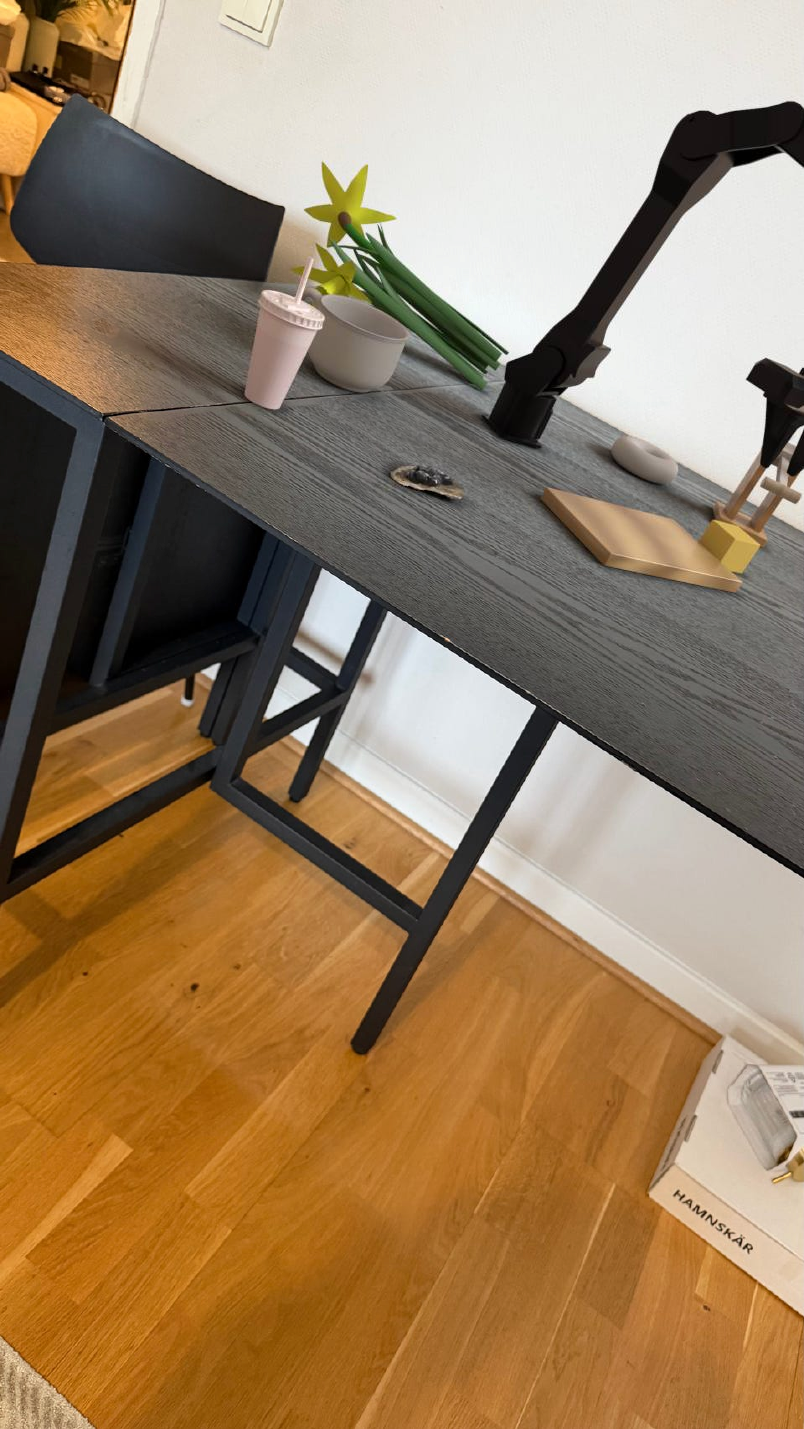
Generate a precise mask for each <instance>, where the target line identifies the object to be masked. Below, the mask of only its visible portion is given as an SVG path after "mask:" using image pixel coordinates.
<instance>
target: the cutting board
mask: <svg viewBox="0 0 804 1429" xmlns="http://www.w3.org/2000/svg"><path fill="white" fill-rule="evenodd" d="M540 500H541V501H542V502H543V503H544V504H545V505H546V507H548V508H549V509H550V511H551V512H552V513H553V514H554V515H555V516H556V517H557V518H558V519H559V520H560V522H562V523H563V524H564V526H566V528H567V529H569V530H570V532H571V533H572V534H573V535H574V536H575V537H576V538H577V539H578V540H579V541H580V542H581V543H582V544H583V545H584V546H585V548H586V549H588V551H589V552H590V553H591V554H592V555H593V556H594V557H595V558H596V559H597V560H598V562H600V563H601V565H602V566H603V567H604V566H605V567H608V568H615V569H619V570H624V571H628V572H634V573H638V574H643V575H647V576H651V577H656V578H657V577H658V578H661V579H667V580H671V581H677V582H680V583H686V584H691V585H696V586H700V587H705V588H710V589H713V590H714V589H715V590H718V591H719V590H720V591H725V592H730V593H734V594H736V593H737V592H738V590H739V589H740V587H741V585H742V584H743V581H742V579H740V578H739V577H738V576H737V575H736V574H735V573H734V572H732V571H730V570H729V569H728V568H727V567H726V566H724V565H723V564H722V563H721V562H720V561H719V560H718V559H717V558H716V557H714V556H713V555H712V554H711V553H710V552H709V551H708V550H707V549H706V548H704V547H703V546H702V545H701V544H700V543H699V540H697V539H696V538H695V537H694V536H692V535H691V534H690V533H689V532H688V531H687V530H686V529H684V527H682V526H681V525H680V524H679V523H678V522H677V521H676V520H674V519H673V518H669V517H666V516H662V515H659V514H658V515H657V514H653V513H650V512H645V511H643V510H642V511H641V510H638V509H634V508H631V507H626V506H623V505H619V504H615V503H610V502H607V501H603V500H599V499H595V498H592V497H586V496H583V495H579V494H575V493H571V492H569V491H564V490H560V489H555V488H551V487H548V486H546V487H545V488H544V490H543V492H542V494H541V496H540Z"/></svg>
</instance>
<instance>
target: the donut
mask: <svg viewBox="0 0 804 1429" xmlns="http://www.w3.org/2000/svg"><path fill="white" fill-rule="evenodd" d="M611 454H612V457H613V459H614V460H615V462H616V463H617V464H618V465H619V466H621V467H622V468H623V469H625V470H626V471H628V472H629V473H631V474H633V475H635V476H637V477H639V478H640V479H643V480H644V481H648V482H651V483H653V484H659V485H666V484H669V483H671V482H673V481H674V480H675V479H676V477H677V475H678V473H679V465H678V463H677V462H676V459H675V458H674V457H672V456H671V455H670V454H669V453H668V452H666V451H665V450H663V449H661V448H660V447H659V446H657V445H655V444H653V443H651V442H649V441H646V440H644V439H641V438H639V437H637V436H632V435H623V436H619V437H618V438H616V439H615V441H614V443H613V444H612V446H611Z"/></svg>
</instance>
